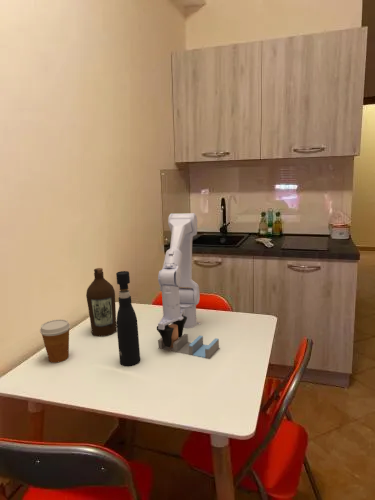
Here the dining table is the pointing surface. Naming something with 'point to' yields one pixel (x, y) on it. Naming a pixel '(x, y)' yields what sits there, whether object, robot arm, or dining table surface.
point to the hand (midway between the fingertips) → (173, 341)
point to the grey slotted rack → (192, 347)
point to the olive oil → (101, 305)
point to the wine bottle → (127, 324)
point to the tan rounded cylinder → (174, 334)
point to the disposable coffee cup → (56, 339)
